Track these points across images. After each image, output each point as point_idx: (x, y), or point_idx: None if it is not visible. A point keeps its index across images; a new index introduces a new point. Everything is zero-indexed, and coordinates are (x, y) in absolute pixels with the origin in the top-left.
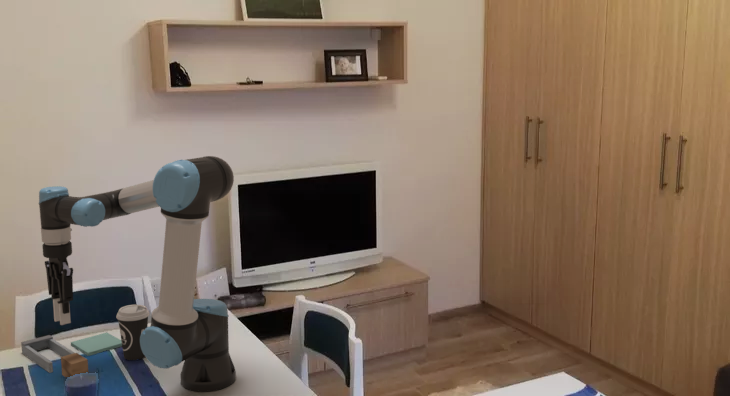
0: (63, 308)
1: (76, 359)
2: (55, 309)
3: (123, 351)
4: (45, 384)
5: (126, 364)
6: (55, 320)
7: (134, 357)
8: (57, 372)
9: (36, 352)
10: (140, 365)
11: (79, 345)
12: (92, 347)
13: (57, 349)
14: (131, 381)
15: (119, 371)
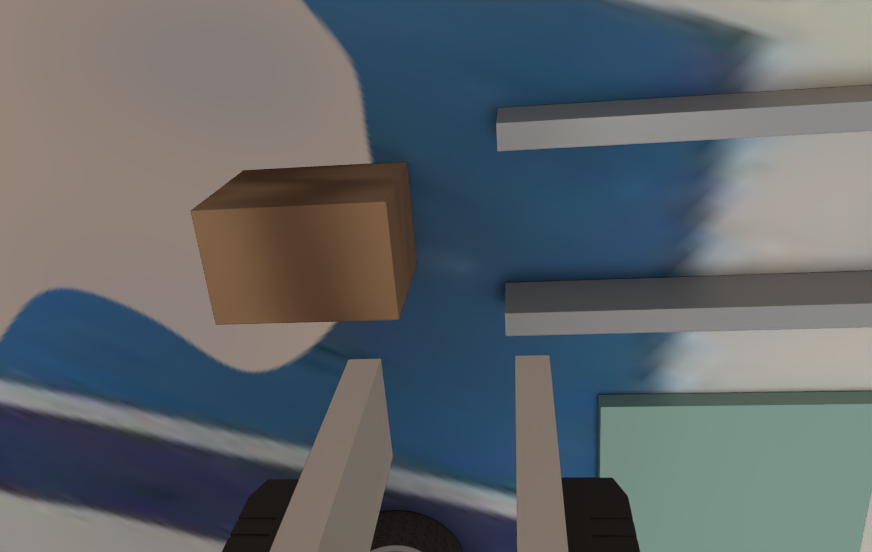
0: (261, 538)
1: (262, 270)
2: (518, 468)
3: (400, 541)
4: (319, 16)
5: None
6: (516, 365)
7: None
8: (470, 153)
9: (797, 123)
10: None
11: (774, 420)
12: (668, 459)
13: (812, 287)
14: (80, 409)
15: (246, 422)
